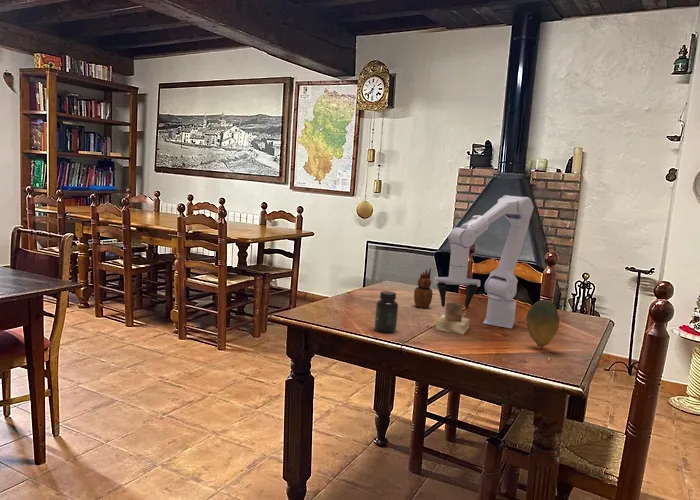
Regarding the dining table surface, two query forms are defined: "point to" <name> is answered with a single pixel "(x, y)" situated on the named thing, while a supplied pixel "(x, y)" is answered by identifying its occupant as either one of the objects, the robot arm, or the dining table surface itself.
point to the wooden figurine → (423, 291)
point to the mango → (542, 322)
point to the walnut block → (453, 312)
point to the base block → (452, 325)
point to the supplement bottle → (386, 313)
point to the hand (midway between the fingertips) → (454, 306)
